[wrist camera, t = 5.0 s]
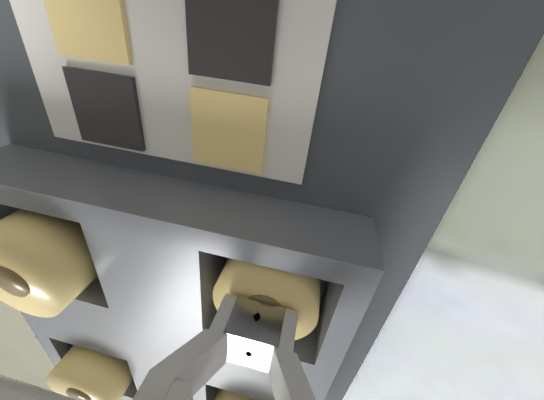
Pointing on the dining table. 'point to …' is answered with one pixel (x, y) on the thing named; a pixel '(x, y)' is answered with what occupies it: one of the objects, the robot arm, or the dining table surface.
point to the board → (247, 155)
